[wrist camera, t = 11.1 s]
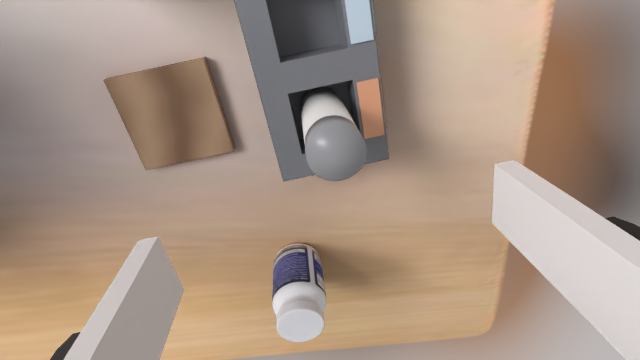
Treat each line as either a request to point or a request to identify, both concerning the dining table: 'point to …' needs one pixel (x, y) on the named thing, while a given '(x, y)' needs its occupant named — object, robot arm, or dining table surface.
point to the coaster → (172, 113)
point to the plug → (330, 136)
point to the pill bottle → (298, 293)
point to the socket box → (314, 69)
